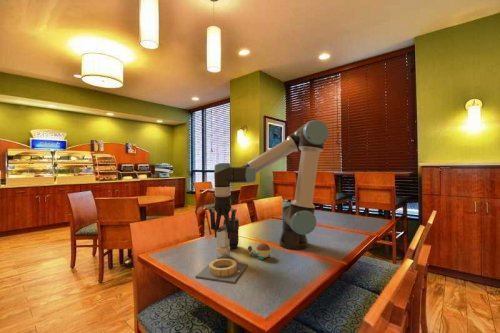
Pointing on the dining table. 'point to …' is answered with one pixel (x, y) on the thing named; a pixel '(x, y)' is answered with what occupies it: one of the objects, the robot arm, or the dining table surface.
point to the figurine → (261, 251)
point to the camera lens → (234, 235)
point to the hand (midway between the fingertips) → (223, 244)
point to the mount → (222, 270)
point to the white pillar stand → (222, 244)
